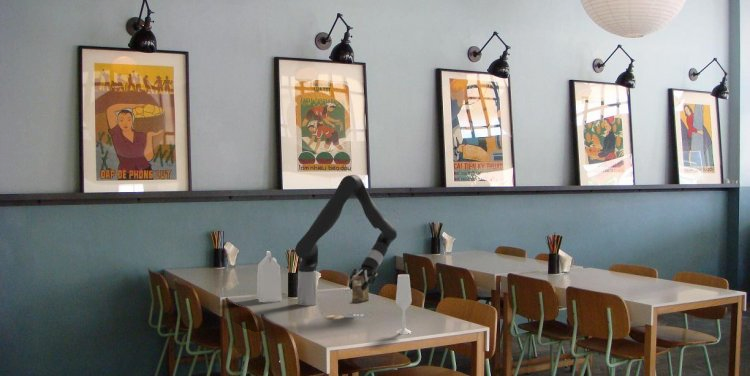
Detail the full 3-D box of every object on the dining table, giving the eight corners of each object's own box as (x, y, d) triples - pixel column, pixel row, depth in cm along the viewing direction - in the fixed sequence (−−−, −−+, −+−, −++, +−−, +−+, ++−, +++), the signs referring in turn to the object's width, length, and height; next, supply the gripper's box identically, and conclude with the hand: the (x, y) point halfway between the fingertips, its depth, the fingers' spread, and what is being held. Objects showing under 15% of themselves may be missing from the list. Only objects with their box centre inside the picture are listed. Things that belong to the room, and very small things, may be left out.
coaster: (322, 319, 333) (322, 318, 333) (325, 316, 342) (325, 315, 342) (342, 320, 332) (342, 319, 332) (344, 316, 341) (344, 315, 341)
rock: (353, 299, 376) (371, 295, 378) (349, 284, 381) (367, 281, 383) (351, 308, 385) (369, 305, 387) (347, 294, 390) (365, 291, 392)
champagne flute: (411, 330, 308) (410, 273, 308) (412, 333, 301) (412, 276, 301) (395, 330, 308) (395, 274, 308) (396, 334, 301) (396, 276, 301)
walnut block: (352, 298, 339) (352, 277, 339) (353, 296, 345) (353, 275, 344) (363, 298, 339) (363, 277, 339) (364, 296, 344) (364, 275, 344)
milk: (256, 299, 392) (256, 250, 392) (277, 297, 396) (277, 250, 395) (259, 302, 381) (259, 253, 381) (281, 301, 384) (281, 252, 384)
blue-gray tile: (344, 318, 336) (344, 317, 336) (347, 313, 348) (347, 312, 348) (370, 318, 335) (370, 317, 335) (372, 313, 347) (372, 312, 347)
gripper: (357, 255, 352) (341, 282, 343) (380, 257, 343) (364, 285, 334) (364, 265, 356) (348, 292, 347) (387, 267, 347) (371, 295, 338)
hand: (356, 288), depth 341 cm, fingers closed on walnut block, 7 cm apart
